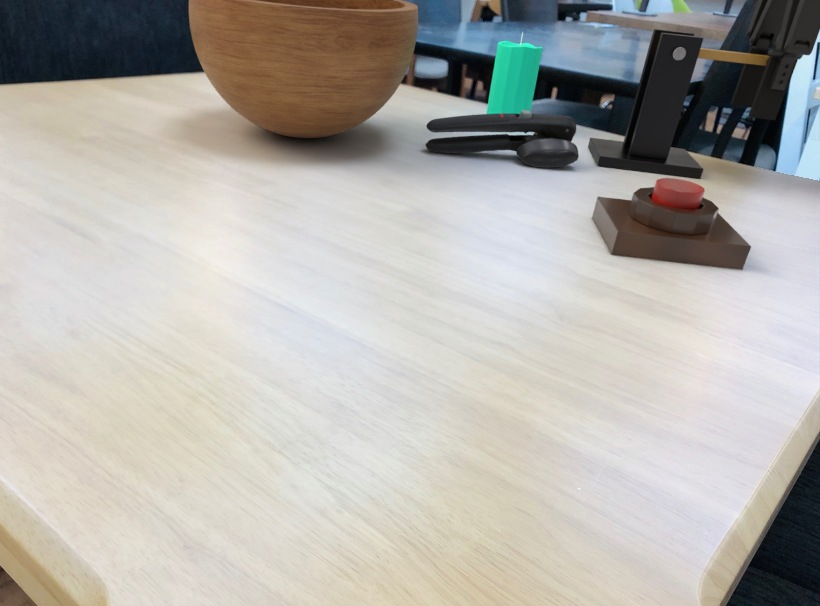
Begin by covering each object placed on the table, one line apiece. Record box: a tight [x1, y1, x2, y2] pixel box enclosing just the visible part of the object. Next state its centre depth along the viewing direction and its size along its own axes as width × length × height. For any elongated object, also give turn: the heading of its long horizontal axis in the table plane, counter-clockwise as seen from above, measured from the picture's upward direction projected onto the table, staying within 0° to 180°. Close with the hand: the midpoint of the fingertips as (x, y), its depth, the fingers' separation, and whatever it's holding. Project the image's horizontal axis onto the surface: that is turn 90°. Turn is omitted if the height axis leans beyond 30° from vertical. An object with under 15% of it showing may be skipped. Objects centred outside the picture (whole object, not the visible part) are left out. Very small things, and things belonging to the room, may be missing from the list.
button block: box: [591, 186, 752, 271], centre depth 62 cm, size 11×9×4 cm
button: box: [651, 177, 706, 210], centre depth 61 cm, size 4×4×2 cm
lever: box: [697, 47, 770, 67], centre depth 80 cm, size 13×6×2 cm, turn 82°
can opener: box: [425, 110, 580, 168], centre depth 82 cm, size 18×7×6 cm, turn 88°
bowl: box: [188, 0, 419, 139], centre depth 81 cm, size 25×25×15 cm
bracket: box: [587, 28, 704, 179], centre depth 84 cm, size 12×9×15 cm
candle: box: [485, 31, 544, 114], centre depth 95 cm, size 6×6×12 cm
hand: (752, 111), depth 83 cm, fingers closed on lever, 6 cm apart
